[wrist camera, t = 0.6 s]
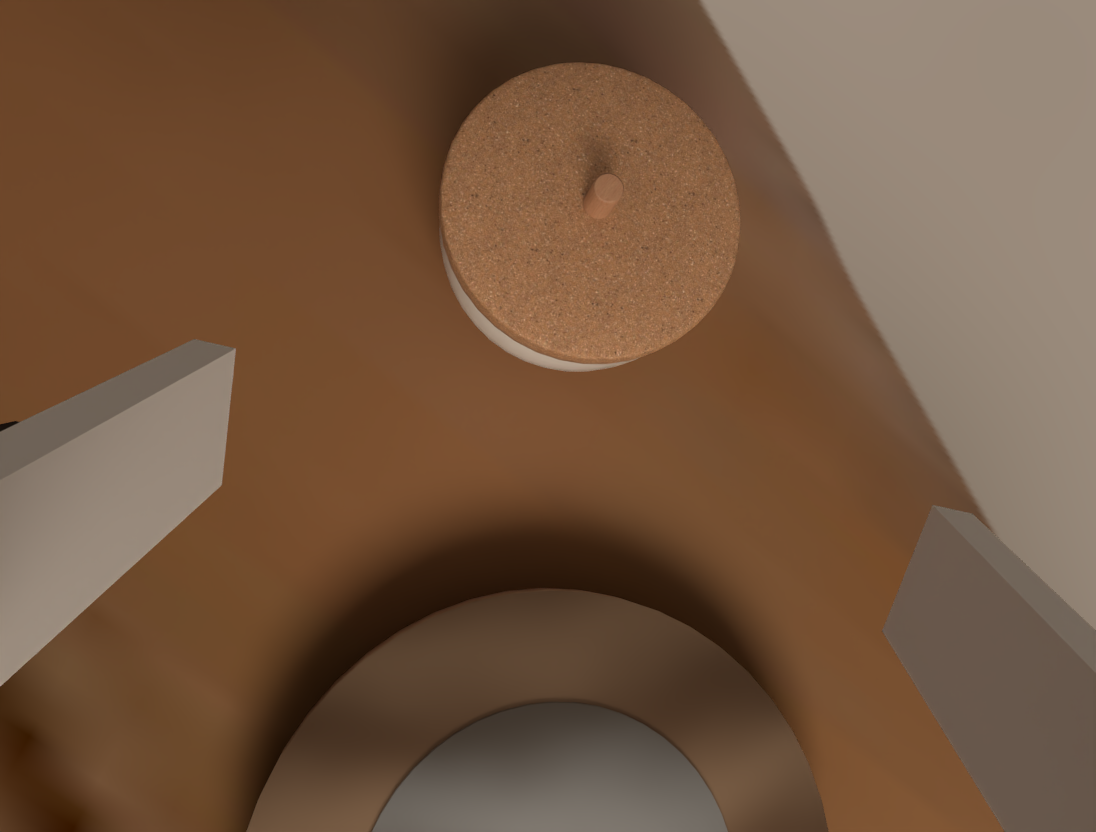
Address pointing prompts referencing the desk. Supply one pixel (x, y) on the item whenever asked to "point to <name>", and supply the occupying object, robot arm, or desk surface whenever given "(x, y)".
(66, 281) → the desk surface
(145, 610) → the desk surface
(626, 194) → the lidded jar
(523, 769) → the turntable
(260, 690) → the desk surface
